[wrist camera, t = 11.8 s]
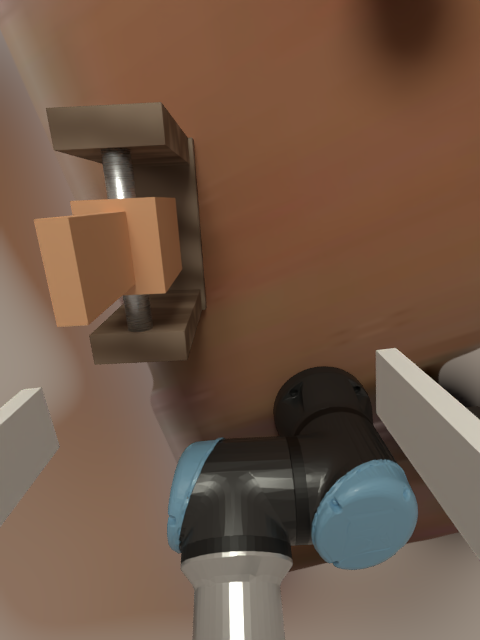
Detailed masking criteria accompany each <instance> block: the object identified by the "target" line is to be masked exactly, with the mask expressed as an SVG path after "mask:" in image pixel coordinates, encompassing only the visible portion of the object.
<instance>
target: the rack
mask: <svg viewBox="0 0 480 640" xmlns="http://www.w3.org/2000/svg"><path fill="white" fill-rule="evenodd" d="M46 111H47V117H48V122H49V127H50V132H51V138H52V143H53V148H54V150H55V151H59V152H62V153H66V154H69V155H73V156H77V157H80V158H84V159H88V160H91V161H95V162H98V163H102V164H103V170H104V176H105V183H106V189H107V196H108V199H124V198H145V197H166V198H175V200H176V211H177V221H178V231H179V241H180V251H181V262H182V270H181V272H180V273H179V275H178V276H177V278H176V279H175V281H174V282H173V283H172V285H171V286H170V288H169V289H168V291H167V292H166V293H162V294H142V295H123V300H124V304H123V305H122V306H121V307H119V308H118V309H117V310H116V311H115V312H114V313H113V314H112V315H111V316H110V317H109V318H108V319H107V320H106V321H104V322H103V323H102V324H101V325H100V326H99V327H98V328H97V329H96V330H95V331H94V332H93V333H92V334H91V335H90V336H89V337H90V342H91V348H92V353H93V358H94V364H117V363H137V362H158V361H179V360H187V359H188V356H189V352H190V349H191V346H192V342H193V339H194V336H195V332H196V329H197V325H198V322H199V319H200V315H201V312H202V310H206V295H205V282H204V269H203V257H202V244H201V231H200V219H199V206H198V193H197V181H196V168H195V155H194V143H193V139H192V138H188V137H187V136H186V135H185V133H184V132H183V131H182V129H181V128H180V127H179V125H178V124H177V123H176V121H175V120H174V119H173V117H172V116H171V115H170V113H169V112H168V111H167V109H166V108H165V107H164V105H163V104H162V103H161V102H158V103H138V104H118V105H97V106H77V107H57V108H46Z"/></svg>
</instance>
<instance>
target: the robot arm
mask: <svg viewBox="0 0 480 640" xmlns="http://www.w3.org/2000/svg"><path fill="white" fill-rule="evenodd" d="M376 413H377V415H378V416H379V418H380V419H381V420H382V422H383V423H384V425H385V426H386V428H387V429H388V430H389V432H390V433H391V435H392V436H393V438H394V439H395V440H396V442H397V443H398V445H399V446H400V448H401V449H402V450H403V452H404V453H405V455H406V456H407V458H408V459H409V461H410V462H411V463H412V465H413V466H414V468H415V469H416V471H417V472H418V473H419V475H420V476H421V478H422V479H423V481H424V482H425V483H426V485H427V486H428V488H429V489H430V491H431V492H432V493H433V495H434V496H435V498H436V499H437V501H438V502H439V503H440V505H441V506H442V508H443V509H444V511H445V512H446V513H447V515H448V516H449V518H450V519H451V521H452V522H453V524H454V525H455V526H456V528H457V529H458V531H459V532H460V534H461V535H462V536H463V538H464V539H465V541H466V542H467V544H468V545H469V546H470V548H471V549H472V551H473V552H474V554H475V555H476V556H477V558H478V559H479V561H480V407H478V406H476V407H468V408H465V407H464V406H463V405H462V404H461V403H459V402H458V401H457V400H456V399H454V397H453V396H451V395H450V394H449V393H448V392H447V391H446V390H444V389H443V388H442V387H441V386H440V385H438V384H437V383H436V382H435V381H434V380H433V379H431V378H430V377H429V376H428V375H427V374H426V373H424V372H423V371H422V370H421V369H420V368H419V367H417V366H416V365H415V364H414V363H413V362H412V361H410V360H409V359H408V358H407V357H406V356H405V355H403V354H402V353H401V352H400V351H399V350H397V349H396V348H392V349H383V350H376ZM274 419H275V424H276V428H277V431H278V433H279V435H280V436H279V437H255V438H232V439H225V438H218V439H216V440H209V441H199V442H194V443H192V444H190V445H189V446H188V447H187V448H186V449H185V451H184V452H183V453H182V455H181V457H180V459H179V461H178V464H177V467H176V470H175V474H174V478H173V483H172V487H171V492H170V498H169V506H168V514H169V518H168V524H167V537H168V543H169V546H170V547H171V549H172V550H174V551H176V552H177V553H182V554H181V571H182V572H183V573H184V575H185V576H186V577H187V578H188V580H189V581H190V582H191V584H192V585H193V588H194V590H195V592H194V594H195V595H194V618H193V640H285V635H284V624H283V613H282V603H281V591H280V585H281V582H282V580H283V579H284V577H285V576H286V574H287V573H288V571H289V570H290V568H291V567H292V565H293V562H292V554H291V545H311V544H313V545H314V547H315V549H316V550H317V552H318V553H319V555H320V556H321V557H322V558H323V559H324V560H325V561H326V562H328V563H333V565H334V566H335V567H337V568H341V569H349V570H357V569H364V568H368V567H372V566H375V565H378V564H380V563H382V562H384V561H386V560H387V559H389V558H390V557H392V556H393V555H395V554H396V552H397V551H398V550H399V549H400V548H402V547H403V546H404V545H405V544H406V543H407V541H408V540H409V539H410V537H411V535H412V533H413V531H414V529H415V526H416V523H417V516H418V507H417V501H416V498H415V495H414V493H413V491H412V489H411V487H410V485H409V483H408V481H407V478H406V475H405V473H404V471H403V469H402V468H401V467H400V466H399V465H398V464H397V462H396V461H395V459H394V457H393V456H392V454H391V453H390V451H389V450H388V448H387V446H386V445H385V443H384V442H383V440H382V438H381V437H380V435H379V434H378V432H377V431H376V429H375V427H374V426H373V417H372V406H371V402H370V399H369V396H368V394H367V392H366V391H365V389H364V388H363V386H362V385H361V383H360V382H359V381H358V380H357V379H356V378H355V377H354V376H353V375H351V374H350V373H348V372H346V371H344V370H341V369H338V368H334V367H314V368H310V369H307V370H304V371H302V372H300V373H298V374H296V375H294V376H293V377H291V378H290V379H289V380H288V381H287V382H286V383H285V384H284V385H283V386H282V388H281V389H280V391H279V392H278V394H277V396H276V399H275V403H274ZM59 447H60V446H59V443H58V440H57V436H56V433H55V430H54V427H53V423H52V420H51V417H50V413H49V410H48V407H47V403H46V400H45V397H44V394H43V391H42V388H41V387H40V388H31V389H23V390H22V391H20V392H19V393H18V394H17V395H15V396H14V397H13V398H12V399H11V400H9V401H8V402H7V403H6V404H5V405H3V406H2V407H1V408H0V526H1V525H2V524H3V522H4V521H5V520H6V518H7V517H8V516H9V514H10V513H11V512H12V510H13V509H14V507H15V506H16V505H17V504H18V502H19V501H20V500H21V498H22V497H23V496H24V494H25V493H26V491H27V490H28V489H29V488H30V486H31V485H32V484H33V482H34V481H35V479H36V478H37V477H38V475H39V474H40V472H41V471H42V470H43V469H44V467H45V466H46V465H47V463H48V462H49V461H50V459H51V458H52V457H53V455H54V454H55V453H56V451H57V450H58V449H59Z"/></svg>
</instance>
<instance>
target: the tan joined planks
mask: <svg viewBox="0 0 480 640" xmlns="http://www.w3.org/2000/svg"><path fill="white" fill-rule="evenodd" d="M70 203H71V209H72V214H73V216H63V217H52V218H43V219H34V222H35V227H36V232H37V236H38V241H39V246H40V250H41V255H42V259H43V264H44V268H45V273H46V278H47V282H48V287H49V291H50V296H51V300H52V305H53V310H54V314H55V319H56V323H57V327H62V326H79V325H80V326H81V325H89V324H90V323H91V322H93V321H94V320H95V319H96V318H97V317H98V316H99V315H100V314H102V313H103V312H104V311H105V310H106V309H107V308H108V307H109V306H111V305H112V304H113V303H114V302H115V301H116V300H117V299H119V298H120V297H121V296H123V295H142V294H162V293H166V292H167V291H168V289H169V288H170V286H171V285H172V283H173V282H174V281H175V279H176V278H177V276H178V275H179V273H180V272H181V270H182V262H181V251H180V241H179V231H178V221H177V211H176V200H175V198H166V197H145V198H124V199H104V200H83V201H70Z"/></svg>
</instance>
